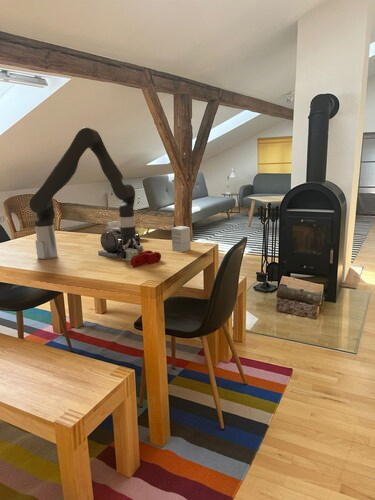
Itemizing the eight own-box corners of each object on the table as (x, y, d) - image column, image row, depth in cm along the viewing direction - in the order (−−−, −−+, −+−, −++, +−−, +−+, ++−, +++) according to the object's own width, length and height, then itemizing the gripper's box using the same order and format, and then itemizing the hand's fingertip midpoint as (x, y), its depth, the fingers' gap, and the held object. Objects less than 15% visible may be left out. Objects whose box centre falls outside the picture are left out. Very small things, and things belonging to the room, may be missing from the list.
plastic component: (112, 240, 229) (110, 230, 236) (113, 249, 234) (111, 239, 241) (145, 235, 233) (142, 225, 240) (146, 244, 238) (143, 234, 245)
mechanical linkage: (151, 258, 197) (150, 249, 195) (161, 261, 192) (160, 251, 191) (127, 266, 185) (126, 256, 184) (137, 269, 181) (137, 258, 179)
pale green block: (132, 261, 193) (131, 251, 191) (121, 259, 197) (120, 250, 196) (138, 259, 197) (138, 249, 195) (127, 257, 201) (127, 247, 200)
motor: (117, 258, 199) (114, 226, 195) (98, 254, 207) (95, 224, 203) (142, 249, 215) (141, 220, 211) (124, 246, 223) (122, 218, 219)
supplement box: (181, 247, 216) (180, 225, 213) (191, 249, 211) (190, 227, 208) (171, 250, 211) (170, 227, 208) (181, 252, 206) (180, 229, 203)
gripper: (131, 222, 200) (133, 252, 204) (111, 227, 189) (114, 259, 193) (142, 223, 196) (144, 254, 200) (123, 228, 185) (125, 261, 189)
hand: (130, 256), depth 196 cm, fingers open, 8 cm apart
